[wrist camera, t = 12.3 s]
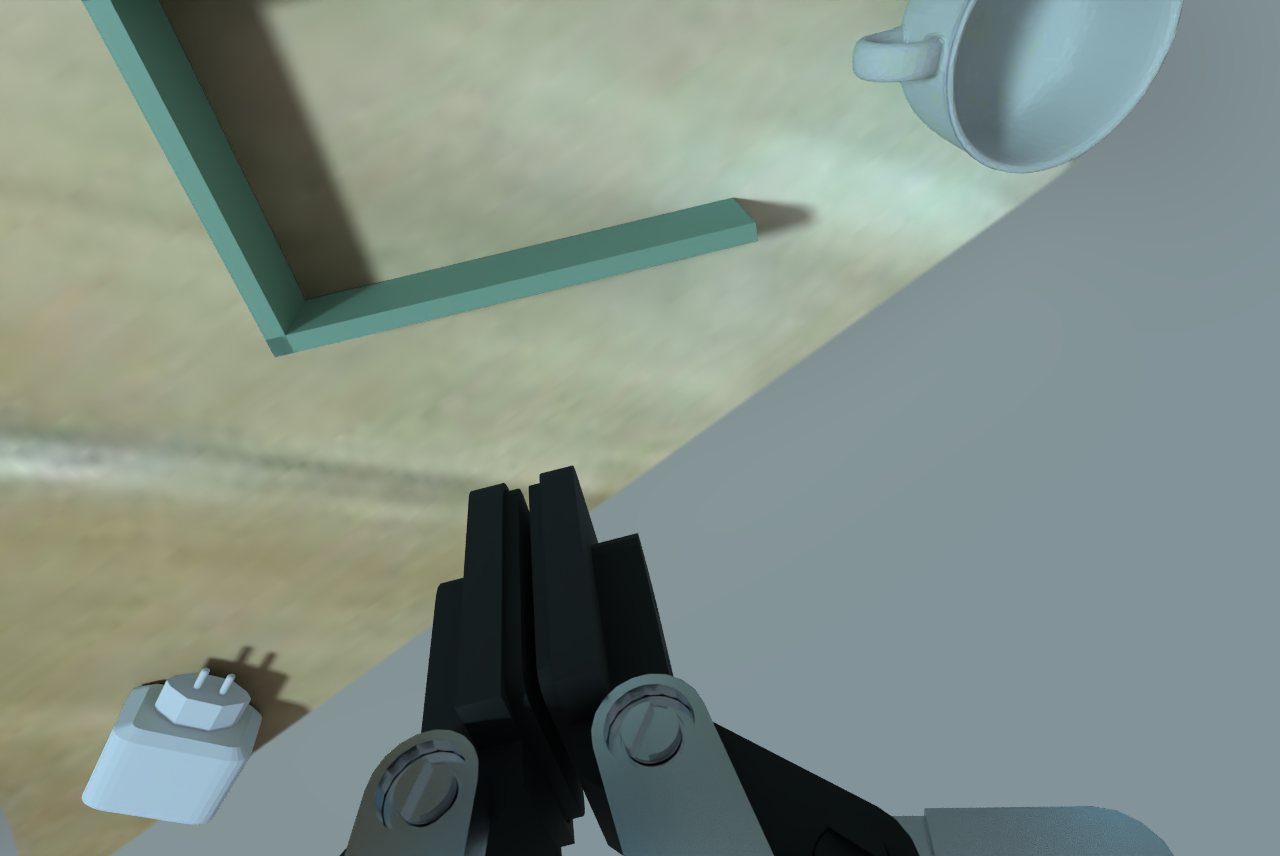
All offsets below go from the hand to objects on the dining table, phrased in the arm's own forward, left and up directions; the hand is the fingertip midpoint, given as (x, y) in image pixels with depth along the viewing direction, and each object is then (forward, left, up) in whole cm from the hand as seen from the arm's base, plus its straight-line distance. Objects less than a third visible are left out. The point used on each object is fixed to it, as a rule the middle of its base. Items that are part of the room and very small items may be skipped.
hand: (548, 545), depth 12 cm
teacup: (-1, +23, -31) cm, 39 cm away
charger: (+35, -35, -32) cm, 59 cm away
